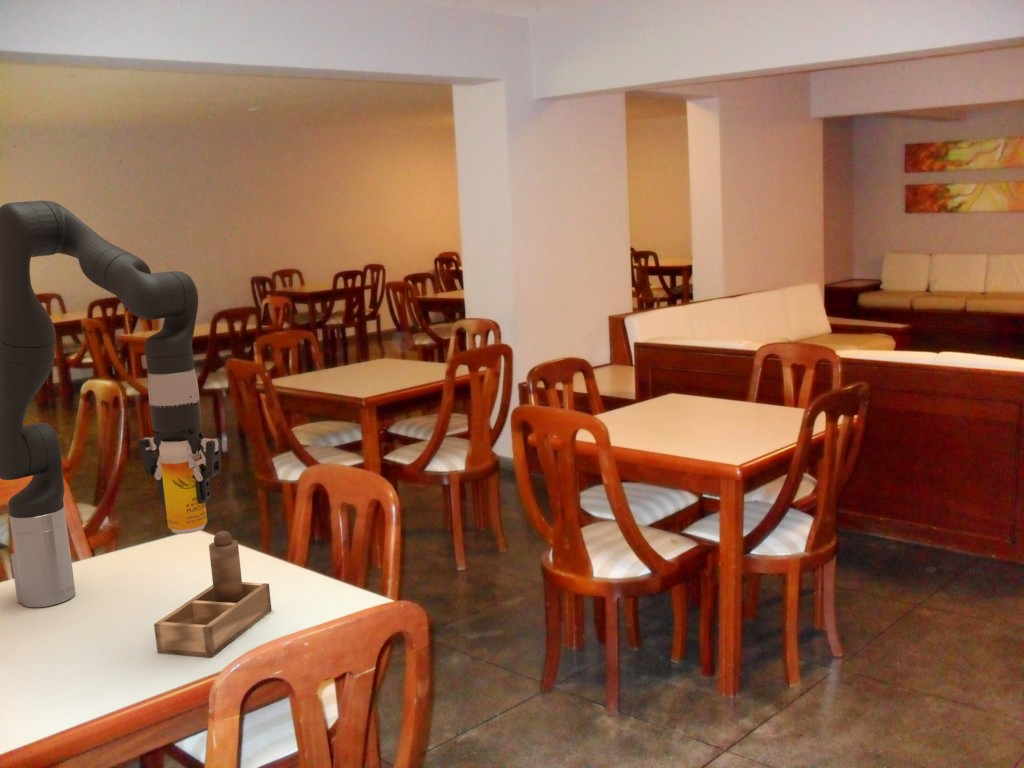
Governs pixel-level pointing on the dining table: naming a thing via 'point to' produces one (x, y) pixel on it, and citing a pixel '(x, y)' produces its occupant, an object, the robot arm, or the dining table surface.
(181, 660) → the dining table surface
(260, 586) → the caddy
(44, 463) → the robot arm
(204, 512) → the beer can
